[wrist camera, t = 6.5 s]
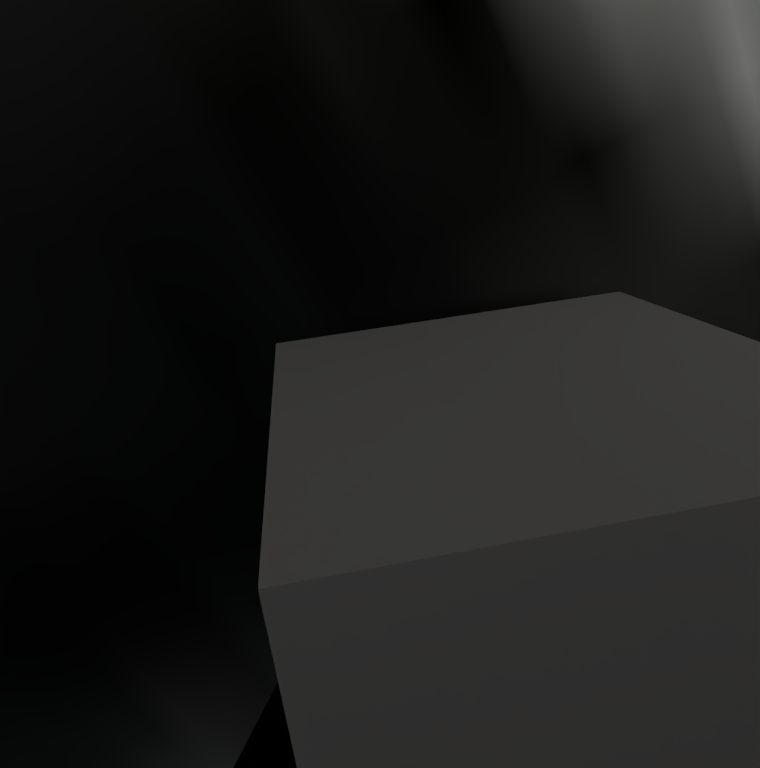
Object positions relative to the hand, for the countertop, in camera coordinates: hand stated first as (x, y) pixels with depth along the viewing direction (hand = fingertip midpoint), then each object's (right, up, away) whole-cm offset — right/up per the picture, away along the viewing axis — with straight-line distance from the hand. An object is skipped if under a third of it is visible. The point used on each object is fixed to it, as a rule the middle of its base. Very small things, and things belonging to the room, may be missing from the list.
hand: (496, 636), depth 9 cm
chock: (0, 0, +1) cm, 1 cm away
